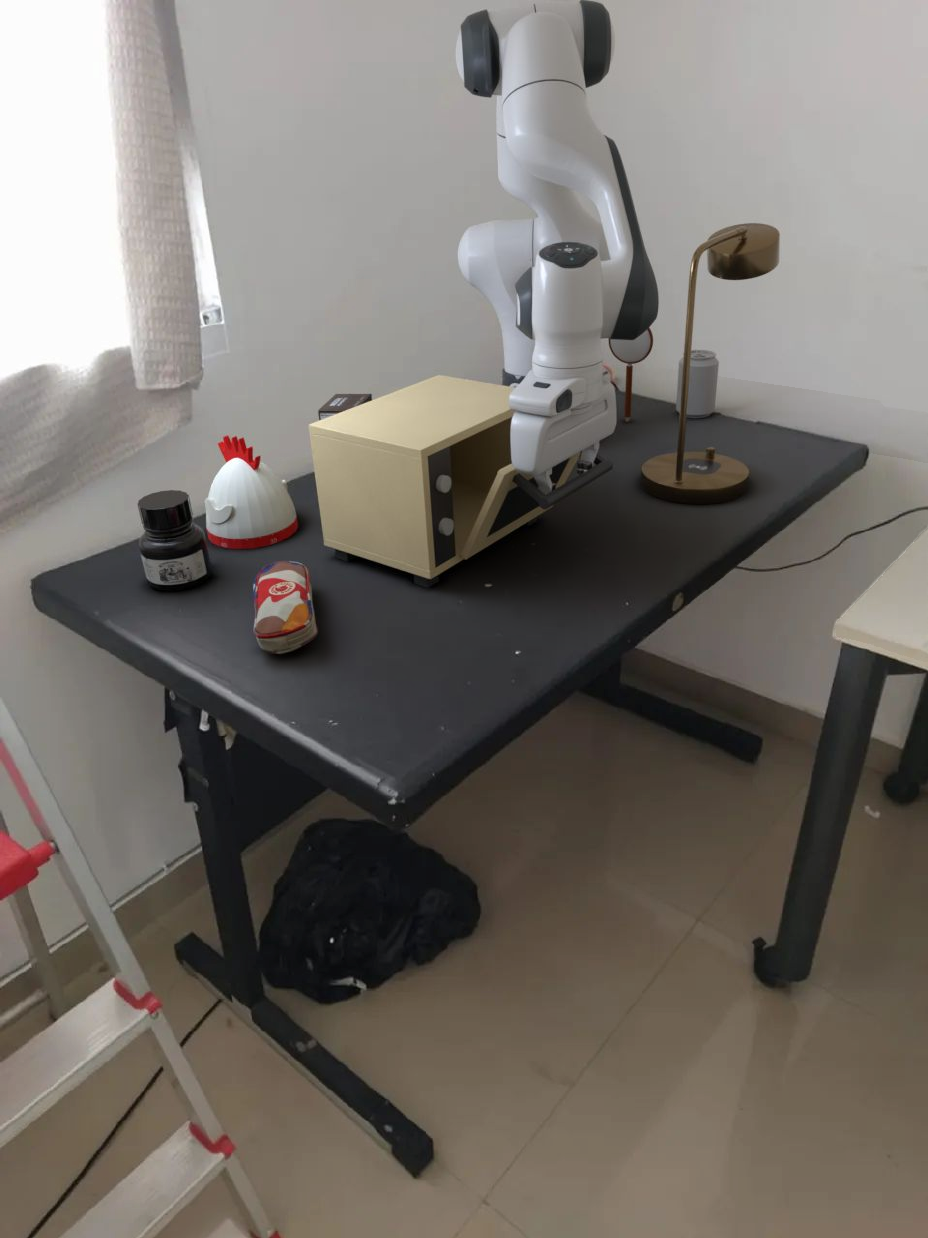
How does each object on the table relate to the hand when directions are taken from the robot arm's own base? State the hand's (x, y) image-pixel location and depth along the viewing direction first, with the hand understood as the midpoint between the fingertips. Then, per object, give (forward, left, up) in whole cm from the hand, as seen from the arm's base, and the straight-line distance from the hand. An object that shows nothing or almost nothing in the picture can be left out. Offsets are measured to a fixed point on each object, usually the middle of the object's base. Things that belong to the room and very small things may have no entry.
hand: (566, 485), depth 126 cm
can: (-70, -14, -12) cm, 73 cm away
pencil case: (+33, -21, -12) cm, 41 cm away
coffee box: (-3, -43, -12) cm, 45 cm away
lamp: (-41, +2, -12) cm, 43 cm away
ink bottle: (+33, -43, -12) cm, 56 cm away
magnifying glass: (-59, -23, -12) cm, 65 cm away
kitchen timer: (+16, -47, -12) cm, 52 cm away
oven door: (0, -7, -10) cm, 12 cm away
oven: (+3, -20, -12) cm, 24 cm away
